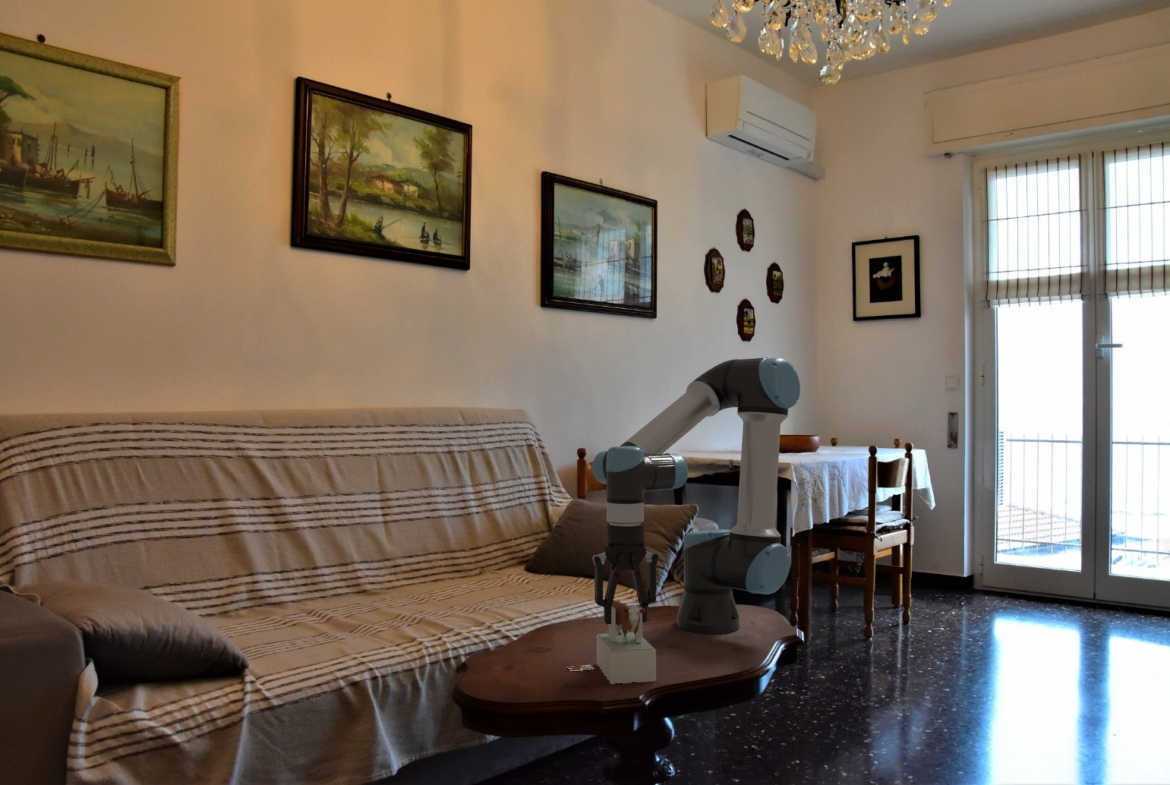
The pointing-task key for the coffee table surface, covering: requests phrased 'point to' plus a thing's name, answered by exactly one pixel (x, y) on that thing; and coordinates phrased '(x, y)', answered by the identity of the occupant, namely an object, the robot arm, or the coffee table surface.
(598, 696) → the coffee table surface
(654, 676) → the plinth
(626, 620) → the bull figurine
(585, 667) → the page
